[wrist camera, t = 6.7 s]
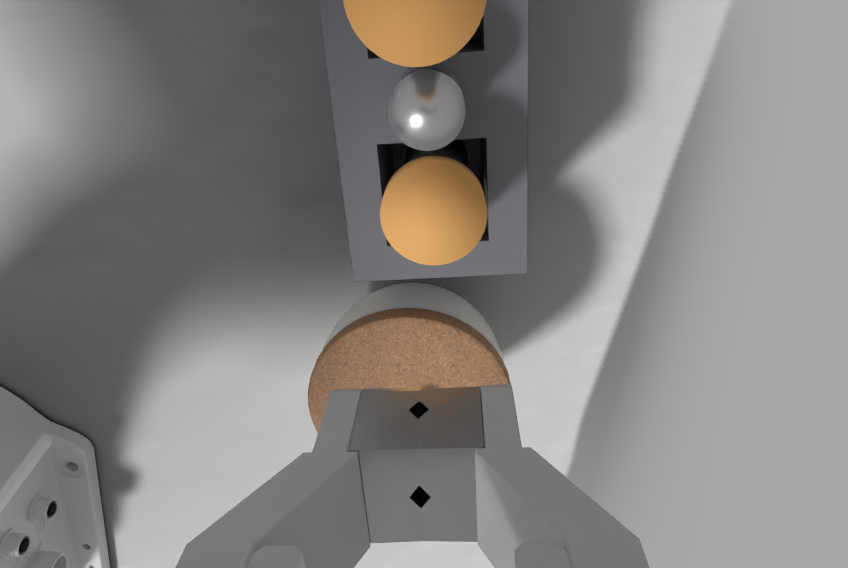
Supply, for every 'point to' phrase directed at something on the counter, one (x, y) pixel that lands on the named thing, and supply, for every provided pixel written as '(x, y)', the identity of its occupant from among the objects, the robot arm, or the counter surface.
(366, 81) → the mount
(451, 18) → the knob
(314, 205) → the counter surface
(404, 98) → the shiny silver ball
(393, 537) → the robot arm
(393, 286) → the lidded jar
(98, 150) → the counter surface
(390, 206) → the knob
